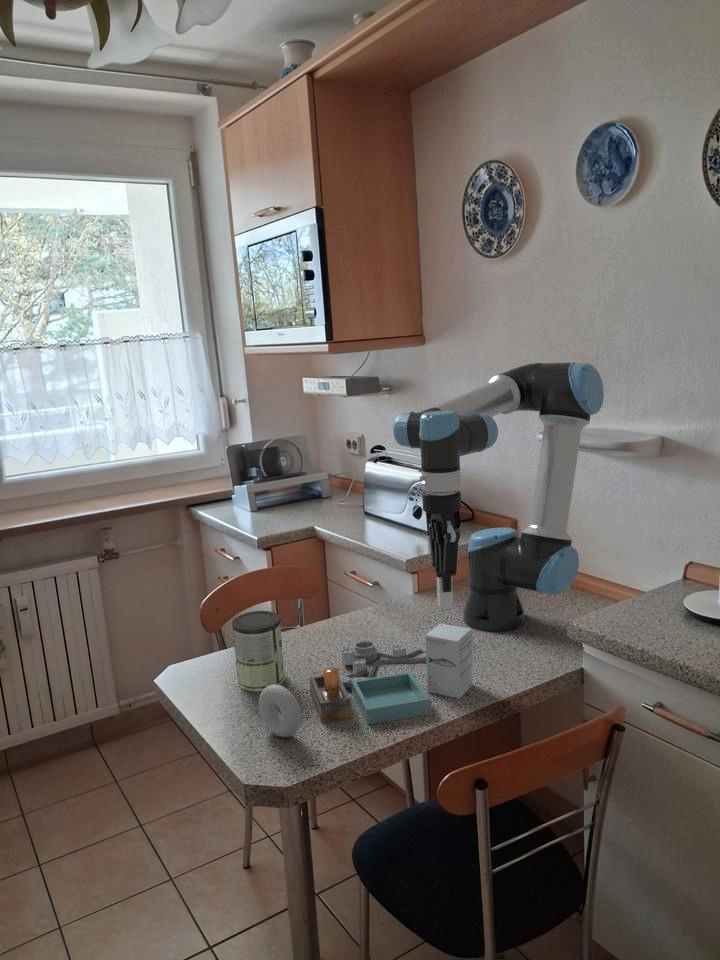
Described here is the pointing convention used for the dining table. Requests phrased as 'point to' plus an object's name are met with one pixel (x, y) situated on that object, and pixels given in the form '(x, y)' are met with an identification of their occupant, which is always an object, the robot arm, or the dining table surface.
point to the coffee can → (258, 650)
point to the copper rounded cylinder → (331, 684)
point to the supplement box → (449, 660)
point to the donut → (287, 705)
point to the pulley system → (368, 653)
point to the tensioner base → (329, 701)
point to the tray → (390, 697)
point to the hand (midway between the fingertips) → (445, 605)
